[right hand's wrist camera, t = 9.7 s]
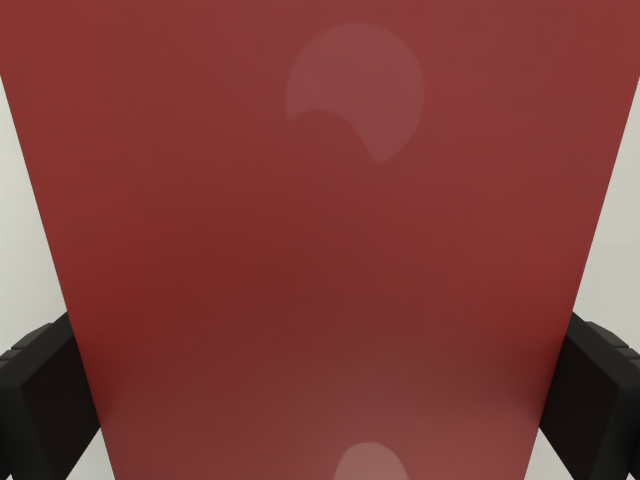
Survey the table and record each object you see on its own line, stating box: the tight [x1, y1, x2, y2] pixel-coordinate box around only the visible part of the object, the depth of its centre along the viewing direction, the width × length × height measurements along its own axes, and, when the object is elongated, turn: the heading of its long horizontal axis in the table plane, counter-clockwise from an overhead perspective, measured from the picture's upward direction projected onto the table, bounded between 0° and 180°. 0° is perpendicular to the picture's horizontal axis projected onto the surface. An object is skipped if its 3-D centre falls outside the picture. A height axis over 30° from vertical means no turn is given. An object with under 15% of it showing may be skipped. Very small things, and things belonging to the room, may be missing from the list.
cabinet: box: [0, 0, 640, 480], centre depth 13 cm, size 17×11×11 cm, turn 0°
